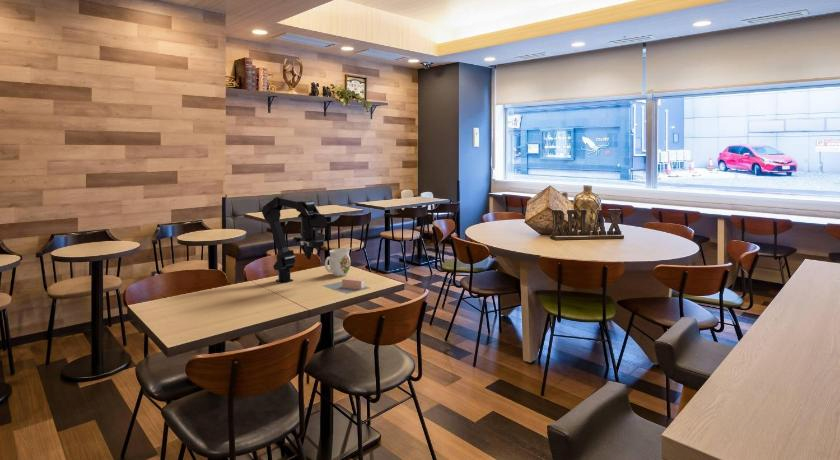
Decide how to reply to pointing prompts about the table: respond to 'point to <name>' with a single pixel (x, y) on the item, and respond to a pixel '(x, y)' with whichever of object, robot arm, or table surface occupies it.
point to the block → (353, 283)
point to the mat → (338, 287)
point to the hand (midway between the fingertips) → (308, 259)
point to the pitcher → (338, 261)
